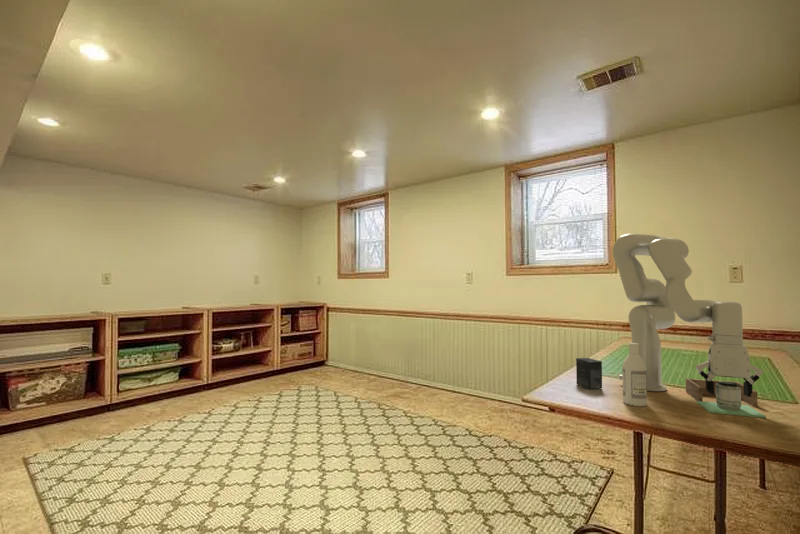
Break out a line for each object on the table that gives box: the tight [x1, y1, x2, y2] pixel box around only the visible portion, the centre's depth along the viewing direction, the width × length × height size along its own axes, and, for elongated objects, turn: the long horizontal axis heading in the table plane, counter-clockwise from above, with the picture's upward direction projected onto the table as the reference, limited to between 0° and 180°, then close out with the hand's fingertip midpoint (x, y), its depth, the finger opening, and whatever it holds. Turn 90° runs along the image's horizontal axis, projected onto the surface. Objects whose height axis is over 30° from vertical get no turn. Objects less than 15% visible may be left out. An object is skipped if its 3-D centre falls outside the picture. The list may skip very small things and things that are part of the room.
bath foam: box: [621, 342, 648, 407], centre depth 134 cm, size 7×7×20 cm
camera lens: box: [715, 380, 742, 411], centre depth 128 cm, size 6×6×8 cm
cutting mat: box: [696, 400, 767, 419], centre depth 128 cm, size 14×11×1 cm
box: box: [575, 357, 603, 390], centre depth 155 cm, size 8×6×11 cm
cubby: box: [685, 378, 758, 408], centre depth 139 cm, size 16×13×5 cm
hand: (728, 394), depth 128 cm, fingers open, 9 cm apart
